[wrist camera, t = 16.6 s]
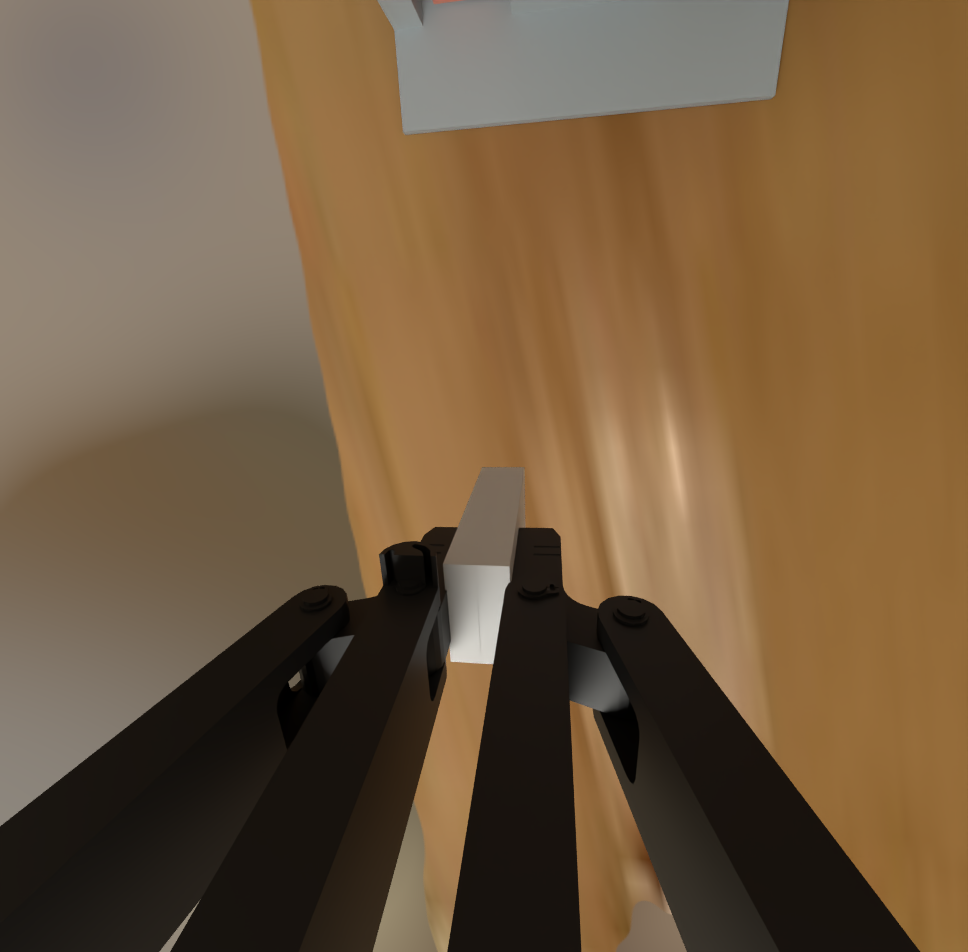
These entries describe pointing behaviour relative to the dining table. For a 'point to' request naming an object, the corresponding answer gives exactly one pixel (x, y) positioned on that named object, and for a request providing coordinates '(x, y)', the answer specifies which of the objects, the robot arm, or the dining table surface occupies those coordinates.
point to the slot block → (578, 58)
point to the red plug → (443, 1)
